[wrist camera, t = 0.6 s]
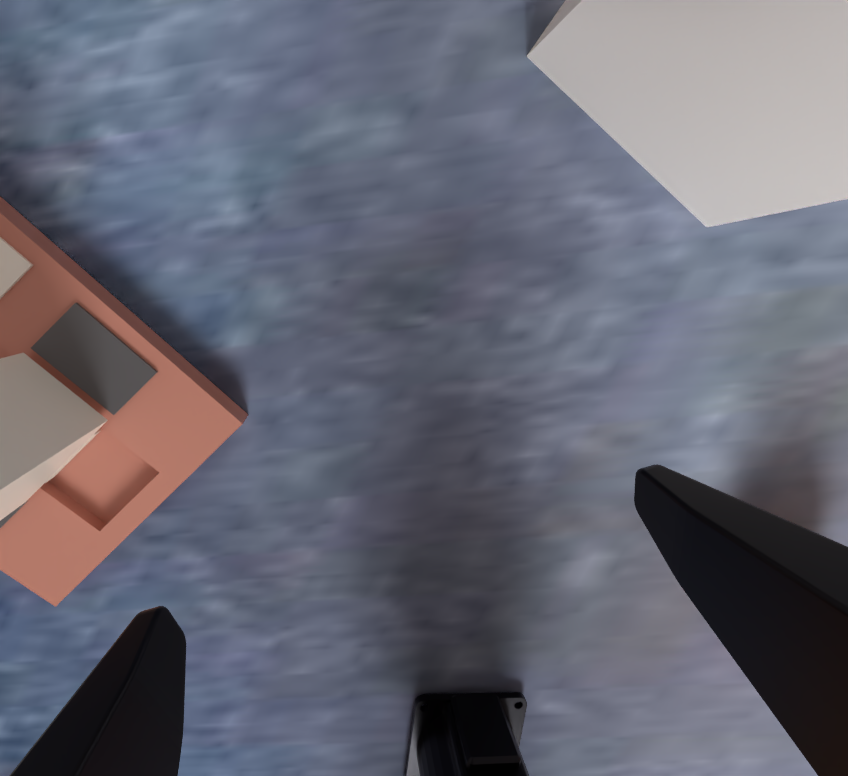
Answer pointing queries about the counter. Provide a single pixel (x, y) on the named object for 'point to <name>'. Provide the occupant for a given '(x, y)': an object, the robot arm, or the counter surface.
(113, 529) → the switch block
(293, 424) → the counter surface
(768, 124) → the milk
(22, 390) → the switch tab
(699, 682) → the counter surface
